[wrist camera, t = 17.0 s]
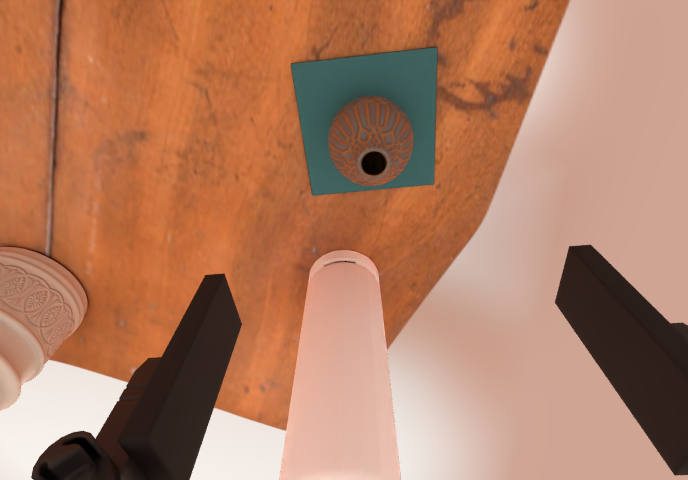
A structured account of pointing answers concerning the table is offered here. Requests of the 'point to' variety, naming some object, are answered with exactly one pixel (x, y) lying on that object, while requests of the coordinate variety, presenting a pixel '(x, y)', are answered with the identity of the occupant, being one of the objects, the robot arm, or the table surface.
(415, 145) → the mat
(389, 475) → the bottle
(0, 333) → the jar
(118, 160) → the table surface
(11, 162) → the table surface
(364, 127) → the vase
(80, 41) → the table surface
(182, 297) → the table surface
